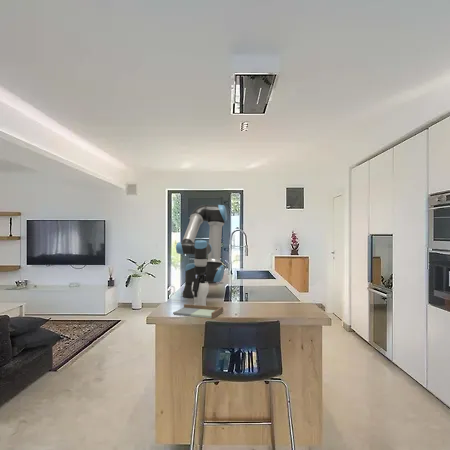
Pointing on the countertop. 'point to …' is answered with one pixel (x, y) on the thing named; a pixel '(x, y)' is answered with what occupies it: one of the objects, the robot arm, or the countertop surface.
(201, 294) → the cup
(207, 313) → the rail board
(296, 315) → the countertop surface
